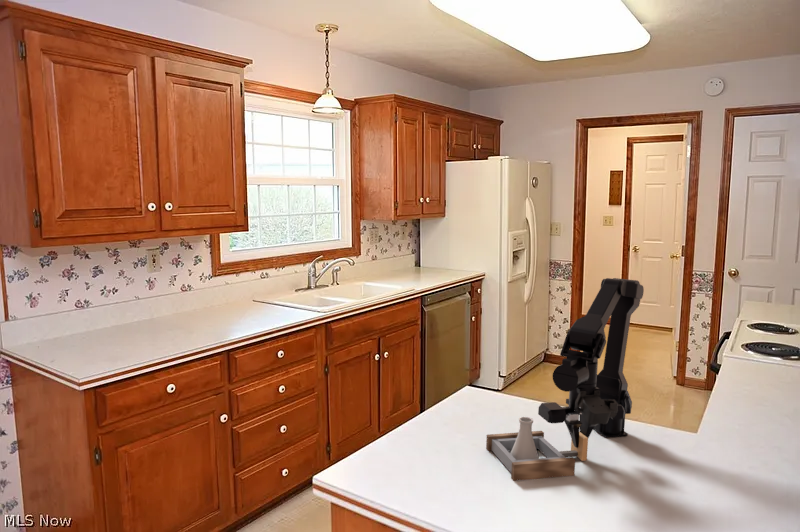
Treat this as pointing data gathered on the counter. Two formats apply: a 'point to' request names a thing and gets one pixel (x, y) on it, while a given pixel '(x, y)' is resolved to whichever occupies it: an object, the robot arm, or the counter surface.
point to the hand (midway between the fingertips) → (579, 446)
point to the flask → (524, 441)
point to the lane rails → (535, 462)
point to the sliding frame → (505, 445)
